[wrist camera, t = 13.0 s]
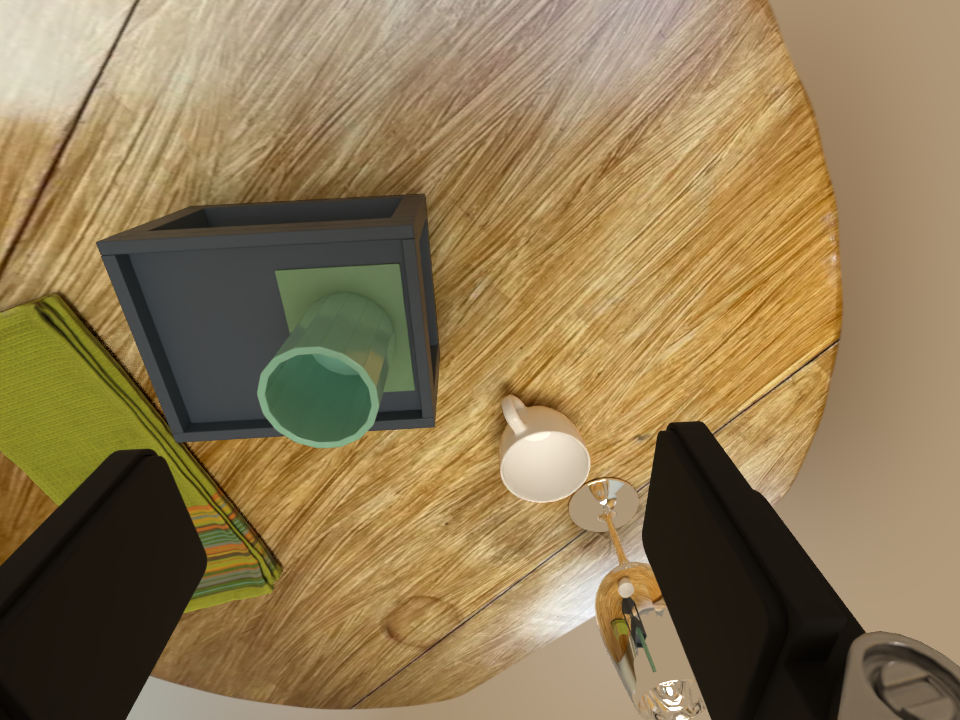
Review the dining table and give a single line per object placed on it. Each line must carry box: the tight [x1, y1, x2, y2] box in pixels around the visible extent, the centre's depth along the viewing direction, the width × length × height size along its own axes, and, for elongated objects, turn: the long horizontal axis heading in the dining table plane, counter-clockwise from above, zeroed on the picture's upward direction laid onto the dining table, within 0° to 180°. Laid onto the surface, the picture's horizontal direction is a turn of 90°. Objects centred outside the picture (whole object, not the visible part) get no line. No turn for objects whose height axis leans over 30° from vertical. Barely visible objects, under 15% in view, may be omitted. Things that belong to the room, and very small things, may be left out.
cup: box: [499, 395, 591, 503], centre depth 45 cm, size 8×10×7 cm
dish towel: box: [0, 294, 282, 613], centre depth 48 cm, size 15×36×3 cm, turn 20°
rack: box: [96, 194, 440, 443], centre depth 36 cm, size 14×18×11 cm
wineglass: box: [568, 478, 707, 720], centre depth 45 cm, size 8×8×20 cm
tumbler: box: [257, 292, 396, 448], centre depth 29 cm, size 6×6×8 cm
